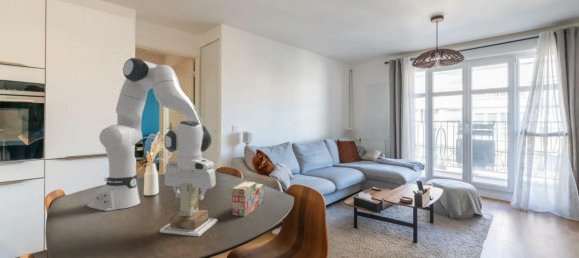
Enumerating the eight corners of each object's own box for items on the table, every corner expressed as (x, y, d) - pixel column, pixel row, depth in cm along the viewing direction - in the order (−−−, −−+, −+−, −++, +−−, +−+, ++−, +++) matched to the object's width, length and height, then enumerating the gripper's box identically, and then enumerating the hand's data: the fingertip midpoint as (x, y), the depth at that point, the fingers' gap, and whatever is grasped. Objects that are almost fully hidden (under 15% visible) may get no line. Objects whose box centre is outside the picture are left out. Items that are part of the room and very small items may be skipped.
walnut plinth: (170, 228, 97) (170, 217, 97) (186, 218, 107) (186, 208, 107) (194, 230, 95) (194, 219, 95) (208, 220, 105) (208, 210, 105)
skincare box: (189, 217, 97) (189, 185, 97) (179, 216, 98) (179, 184, 98) (199, 211, 103) (199, 181, 103) (189, 210, 104) (189, 180, 104)
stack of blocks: (252, 200, 134) (252, 177, 133) (263, 202, 132) (264, 178, 132) (231, 215, 113) (232, 187, 113) (244, 217, 112) (245, 188, 111)
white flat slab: (159, 232, 96) (159, 229, 96) (182, 218, 109) (182, 215, 109) (199, 236, 92) (199, 233, 92) (217, 221, 106) (217, 218, 106)
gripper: (160, 163, 99) (160, 198, 99) (209, 165, 95) (209, 202, 95) (171, 160, 105) (171, 194, 106) (217, 162, 101) (217, 197, 102)
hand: (189, 198), depth 100 cm, fingers open, 8 cm apart
